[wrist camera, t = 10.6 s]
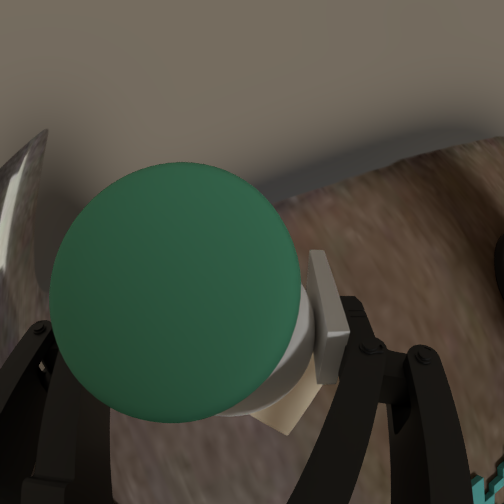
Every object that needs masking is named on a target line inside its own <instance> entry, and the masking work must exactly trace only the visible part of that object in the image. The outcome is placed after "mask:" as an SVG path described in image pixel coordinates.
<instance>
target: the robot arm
mask: <svg viewBox="0 0 504 504" xmlns="http://www.w3.org/2000/svg"><path fill="white" fill-rule="evenodd" d="M495 273H496V278H497V282H498V286H499V289H500V292H501V294H502V296H503V298H504V234H503V235H502V236H501V237H500V238H499V240H498V242H497V245H496V249H495ZM306 293H307V295H308V297H309V300H310V302H311V305H312V309H313V312H314V318H315V343H314V349H313V355H314V363H315V372H316V381H317V384H336V382H337V378H338V375H339V380H340V382H339V385H338V388H337V391H336V393H335V396H334V399H333V402H332V404H331V407H330V410H329V412H328V415H327V417H326V420H325V422H324V425H323V427H322V430H321V432H320V435H319V437H318V439H317V442H316V444H315V446H314V449H313V451H312V453H311V455H310V458H309V460H308V462H307V464H306V466H305V468H304V470H303V473H302V475H301V477H300V479H299V481H298V483H297V485H296V487H295V489H294V491H293V493H292V494H291V496H290V498H289V500H288V502H287V504H348V503H349V501H350V498H351V495H352V493H353V490H354V487H355V484H356V481H357V478H358V475H359V472H360V469H361V466H362V463H363V460H364V456H365V453H366V449H367V446H368V442H369V438H370V435H371V431H372V427H373V423H374V418H375V414H376V410H377V405H378V402H379V403H385V404H386V407H387V417H388V429H389V443H390V463H391V504H474V501H473V492H472V484H471V477H470V471H469V465H468V459H467V454H466V449H465V444H464V439H463V435H462V431H461V426H460V422H459V419H458V415H457V411H456V407H455V404H454V400H453V397H452V393H451V390H450V387H449V384H448V381H447V377H446V374H445V371H444V368H443V366H442V363H441V360H440V357H439V355H438V354H437V352H436V351H435V350H434V349H432V348H431V347H428V346H426V345H414V346H413V347H411V348H410V349H409V351H408V353H407V354H405V353H399V352H394V351H390V350H388V349H387V348H386V345H385V344H384V342H382V341H381V340H380V339H378V338H376V337H375V335H374V333H373V330H372V328H371V325H370V323H369V320H368V317H367V315H366V313H365V311H364V308H363V305H362V303H361V302H360V301H359V300H358V299H357V298H356V297H355V296H339V293H338V290H337V287H336V284H335V281H334V278H333V275H332V272H331V269H330V266H329V263H328V261H327V258H326V255H325V252H324V250H310V252H309V264H308V275H307V285H306ZM41 361H42V363H43V365H44V367H45V369H44V370H43V371H41V369H40V368H39V364H40V362H41ZM35 462H36V467H35V473H34V475H33V476H31V474H32V471H33V468H34V465H35ZM0 504H113V496H112V484H111V468H110V407H109V406H107V405H106V404H104V403H103V402H101V401H100V400H98V399H97V398H96V397H94V396H93V395H92V394H91V393H90V392H88V390H87V389H86V388H85V387H84V386H83V385H82V384H81V383H80V382H79V381H78V380H77V378H76V377H75V376H74V375H73V373H72V372H71V370H70V369H69V367H68V366H67V364H66V362H65V360H64V358H63V356H62V354H61V352H60V350H59V347H58V345H57V342H56V339H55V336H54V332H53V328H52V323H51V322H50V321H47V320H42V321H38V322H36V323H35V324H33V325H32V326H31V327H30V328H29V329H28V331H27V332H26V333H25V335H24V336H23V337H22V339H21V340H20V341H19V343H18V344H17V346H16V347H15V348H14V350H13V351H12V353H11V354H10V356H9V357H8V359H7V360H6V362H5V363H4V365H3V366H2V368H1V369H0Z"/></svg>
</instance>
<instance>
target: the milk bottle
mask: <svg viewBox="0 0 504 504" xmlns="http://www.w3.org/2000/svg"><path fill="white" fill-rule="evenodd" d="M49 306H50V317H51V323H52V328H53V332H54V336H55V339H56V342H57V345H58V347H59V350H60V352H61V354H62V356H63V358H64V360H65V362H66V364H67V366H68V367H69V369H70V370H71V372H72V373H73V375H74V376H75V377H76V378H77V380H78V381H79V382H80V383H81V384H82V385H83V386H84V387H85V388H86V389H87V390H88V392H90V393H91V394H92V395H93V396H94V397H96V398H97V399H98V400H100V401H101V402H103V403H104V404H106V405H107V406H109V407H111V408H113V409H114V410H116V411H118V412H121V413H123V414H126V415H128V416H131V417H134V418H138V419H142V420H147V421H153V422H161V423H183V422H192V421H196V420H201V419H205V418H208V417H211V416H214V415H216V416H241V415H247V414H251V413H254V412H258V411H260V410H263V409H265V408H267V407H269V406H271V405H273V404H275V403H276V402H278V401H279V400H280V399H282V398H283V397H284V396H285V395H287V394H288V393H289V392H290V391H291V390H292V389H293V388H294V387H295V385H296V384H297V383H298V382H299V380H300V379H301V377H302V376H303V374H304V372H305V371H306V369H307V366H308V364H309V362H310V359H311V356H312V353H313V349H314V343H315V318H314V312H313V309H312V305H311V302H310V300H309V297H308V295H307V293H306V291H305V289H304V287H303V285H302V284H301V277H300V268H299V262H298V257H297V254H296V250H295V247H294V244H293V241H292V239H291V237H290V234H289V232H288V230H287V228H286V226H285V225H284V223H283V221H282V219H281V218H280V216H279V214H278V213H277V212H276V210H275V209H274V207H273V206H272V205H271V204H270V202H269V201H268V200H267V199H266V198H265V197H264V196H263V195H262V194H261V193H260V192H259V191H258V190H257V189H256V188H254V187H253V186H252V185H250V184H249V183H247V182H246V181H245V180H243V179H241V178H240V177H238V176H236V175H234V174H232V173H230V172H228V171H225V170H223V169H220V168H217V167H213V166H209V165H205V164H199V163H188V162H176V163H166V164H159V165H155V166H150V167H147V168H144V169H141V170H138V171H135V172H133V173H131V174H128V175H126V176H125V177H123V178H121V179H119V180H117V181H116V182H114V183H112V184H111V185H109V186H108V187H107V188H105V189H104V190H103V191H101V192H100V193H99V194H98V195H97V196H96V197H94V198H93V199H92V200H91V201H90V202H89V203H88V204H87V205H86V206H85V208H84V209H83V210H82V211H81V212H80V214H79V215H78V216H77V218H76V219H75V220H74V222H73V223H72V225H71V226H70V228H69V230H68V231H67V233H66V235H65V237H64V239H63V241H62V243H61V246H60V248H59V250H58V253H57V256H56V259H55V263H54V266H53V271H52V275H51V283H50V293H49Z"/></svg>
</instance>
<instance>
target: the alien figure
mask: <svg viewBox="0 0 504 504" xmlns="http://www.w3.org/2000/svg"><path fill="white" fill-rule="evenodd" d="M497 472H498V475H497V476H496V477H495V478H494V479H493V480H492V481H491V482H490V483H489V492H488V493H487V494H485V495H484V479H483V477H481V476H478V475H477V476H476V477H475V478H473V479H472V480H471V484H472V492H473V501H474V504H494V494H495V493H496V492H497V491H498V490H499V489H500V488H502V487H503V486H504V461H503V462H502V463H501V464H500V465H499V466H498V467H497Z"/></svg>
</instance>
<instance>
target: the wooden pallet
mask: <svg viewBox="0 0 504 504" xmlns="http://www.w3.org/2000/svg"><path fill="white" fill-rule="evenodd" d="M322 385H323V384H317V381H316V372H315V363H314V355H313V353H312V356H311V359H310V362H309V364H308V366H307V369H306V371H305V372H304V374H303V376H302V377H301V379H300V380H299V382H298V383H297V384H296V385H295V387H294V388H293V389H292V390H291V391H290V392H289V393H288V394H287V395H285V396H284V397H283V398H282V399H280V400H279V401H278V402H276V403H275V404H273V405H271V406H269V407H267V408H265V409H263V410H260V411H258V412H254V413H251V414H249V415H251V416H253V417H254V418H256V419H258V420H260V421H261V422H263V423H265V424H267V425H268V426H270V427H272V428H274V429H275V430H277V431H279V432H281V433H283V434H285V435H287V436H288V434H289V433H290V432H291V430H292V429H293V428H294V426H295V425H296V423H297V422H298V421H299V419H300V418H301V416H302V415H303V413H304V412H305V410H306V409H307V408H308V406H309V405H310V403H311V402H312V400H313V399H314V397H315V396H316V394H317V392H318V391H319V389H320V388H321V386H322Z"/></svg>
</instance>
